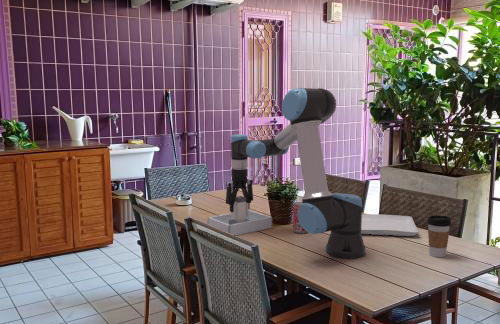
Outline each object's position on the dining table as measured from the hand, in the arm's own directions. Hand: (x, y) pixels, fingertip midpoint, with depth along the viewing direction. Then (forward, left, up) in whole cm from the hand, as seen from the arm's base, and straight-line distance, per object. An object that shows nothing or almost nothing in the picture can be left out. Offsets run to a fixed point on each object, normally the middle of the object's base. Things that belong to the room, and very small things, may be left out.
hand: (239, 217), depth 225 cm
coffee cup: (-78, -38, -5) cm, 86 cm away
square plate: (-42, -51, -6) cm, 66 cm away
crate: (0, 0, -5) cm, 5 cm away
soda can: (-22, -18, -5) cm, 29 cm away
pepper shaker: (0, 0, -4) cm, 4 cm away
